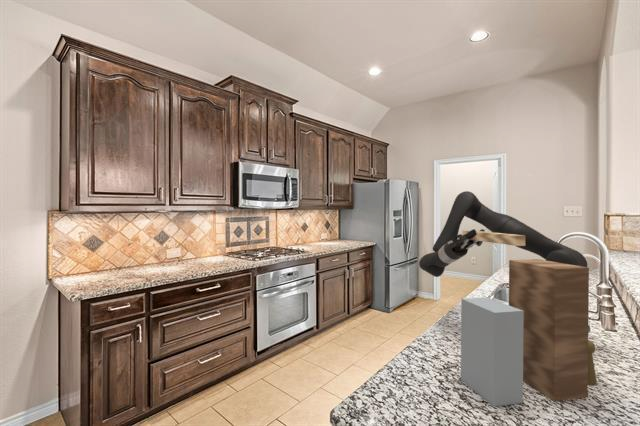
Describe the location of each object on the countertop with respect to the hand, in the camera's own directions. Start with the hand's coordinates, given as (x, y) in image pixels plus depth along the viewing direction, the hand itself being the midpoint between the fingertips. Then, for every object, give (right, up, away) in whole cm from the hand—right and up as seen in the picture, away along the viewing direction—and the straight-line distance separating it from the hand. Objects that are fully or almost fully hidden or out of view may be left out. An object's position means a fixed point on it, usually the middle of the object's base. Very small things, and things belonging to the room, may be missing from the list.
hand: (479, 231), depth 107 cm
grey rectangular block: (-12, -39, -28) cm, 49 cm away
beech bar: (+1, -3, -5) cm, 6 cm away
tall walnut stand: (+5, -39, -25) cm, 46 cm away
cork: (+17, -39, -22) cm, 48 cm away
